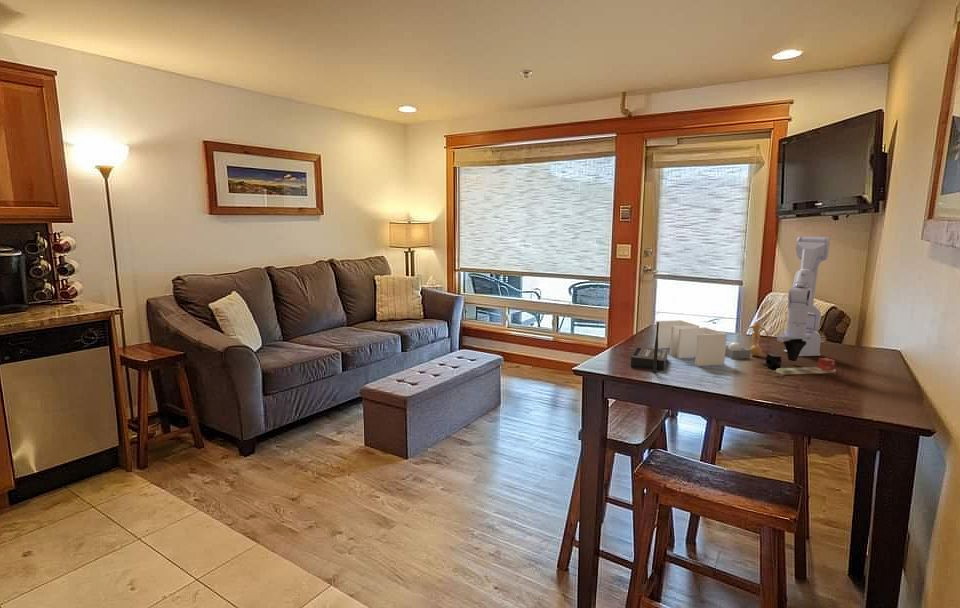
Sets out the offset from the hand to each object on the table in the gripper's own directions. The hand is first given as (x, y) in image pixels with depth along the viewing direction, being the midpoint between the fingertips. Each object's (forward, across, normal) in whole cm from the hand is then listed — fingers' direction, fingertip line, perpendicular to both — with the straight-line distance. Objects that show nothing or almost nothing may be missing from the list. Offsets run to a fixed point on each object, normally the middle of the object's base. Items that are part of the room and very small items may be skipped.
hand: (792, 360), depth 176 cm
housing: (+1, +10, -15) cm, 18 cm away
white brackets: (+2, +28, -20) cm, 34 cm away
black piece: (+2, +9, 0) cm, 9 cm away
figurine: (+2, +2, -14) cm, 14 cm away
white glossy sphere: (+1, +10, -15) cm, 18 cm away
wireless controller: (+2, +49, -15) cm, 51 cm away
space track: (+1, +5, +9) cm, 10 cm away
